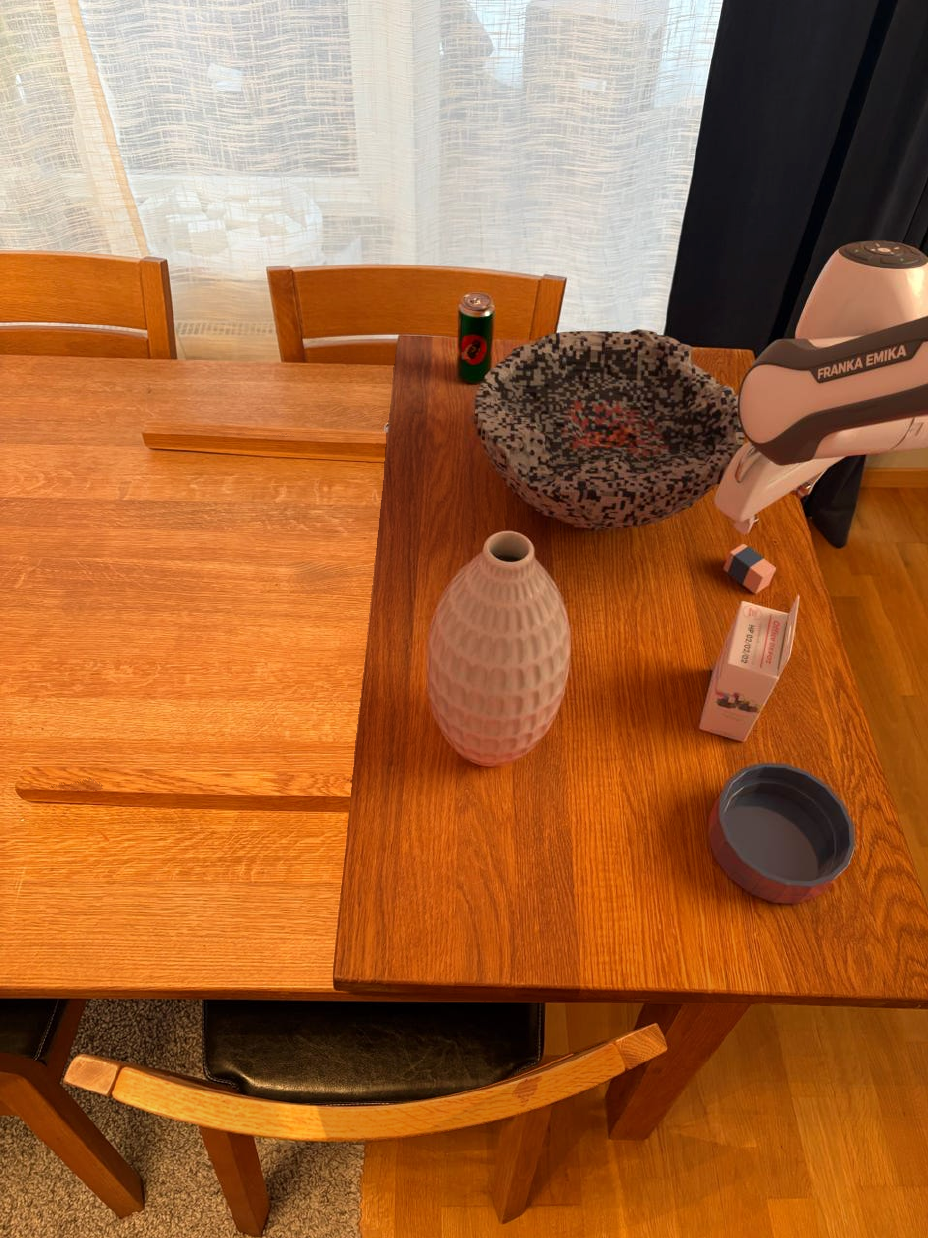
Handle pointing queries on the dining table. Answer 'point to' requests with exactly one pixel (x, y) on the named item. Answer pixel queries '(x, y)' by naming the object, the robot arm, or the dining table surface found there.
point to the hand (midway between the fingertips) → (771, 510)
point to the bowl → (607, 427)
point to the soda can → (475, 337)
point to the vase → (498, 653)
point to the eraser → (749, 568)
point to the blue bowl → (780, 833)
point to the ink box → (747, 669)
